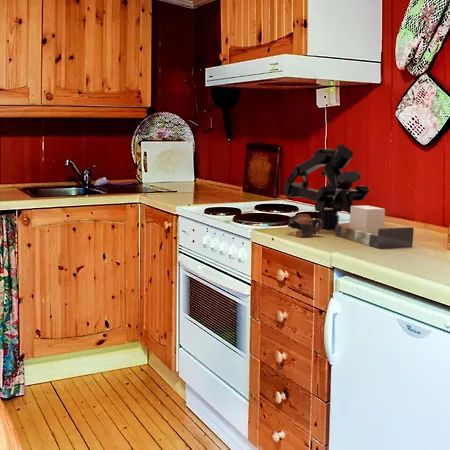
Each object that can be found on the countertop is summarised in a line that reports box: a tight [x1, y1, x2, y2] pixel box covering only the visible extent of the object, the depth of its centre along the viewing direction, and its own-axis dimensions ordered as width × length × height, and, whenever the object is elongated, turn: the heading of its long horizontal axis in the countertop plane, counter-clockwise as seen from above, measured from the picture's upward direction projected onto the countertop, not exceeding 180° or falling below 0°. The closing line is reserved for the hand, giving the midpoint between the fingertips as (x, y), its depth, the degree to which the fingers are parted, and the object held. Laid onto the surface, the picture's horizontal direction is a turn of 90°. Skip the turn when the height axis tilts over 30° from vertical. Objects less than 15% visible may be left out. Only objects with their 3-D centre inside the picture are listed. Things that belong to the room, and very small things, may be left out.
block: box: [348, 205, 386, 234], centre depth 205 cm, size 9×7×8 cm
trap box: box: [334, 224, 415, 250], centre depth 202 cm, size 24×12×6 cm, turn 23°
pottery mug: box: [287, 213, 324, 238], centre depth 210 cm, size 12×10×8 cm
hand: (351, 213), depth 213 cm, fingers closed
